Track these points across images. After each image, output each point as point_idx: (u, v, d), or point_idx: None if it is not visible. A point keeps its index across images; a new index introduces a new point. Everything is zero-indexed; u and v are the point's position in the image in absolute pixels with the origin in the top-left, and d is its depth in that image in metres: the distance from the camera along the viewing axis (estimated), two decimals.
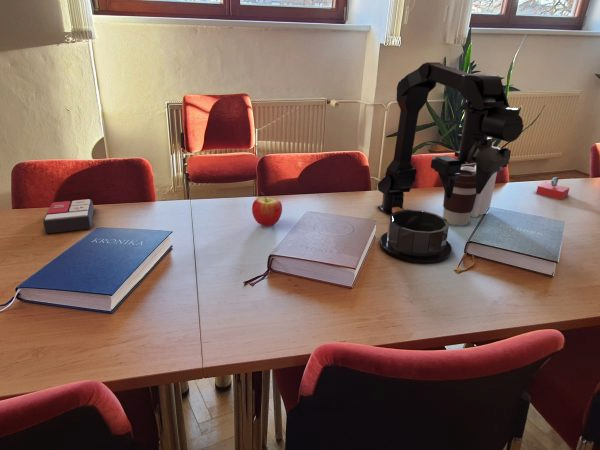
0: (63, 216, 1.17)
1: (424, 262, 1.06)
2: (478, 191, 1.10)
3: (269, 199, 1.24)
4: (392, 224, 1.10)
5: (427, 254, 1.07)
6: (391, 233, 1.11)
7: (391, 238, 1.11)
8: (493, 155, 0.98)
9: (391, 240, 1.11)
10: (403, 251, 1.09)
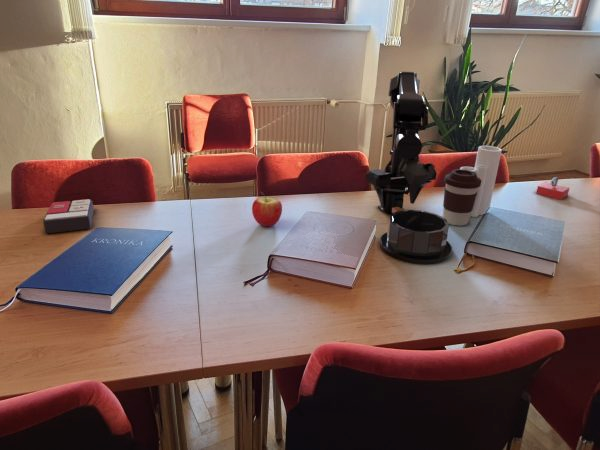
0: (63, 216, 1.17)
1: (424, 262, 1.06)
2: (411, 201, 1.20)
3: (269, 199, 1.24)
4: (392, 224, 1.10)
5: (427, 254, 1.07)
6: (391, 233, 1.11)
7: (391, 238, 1.11)
8: (418, 170, 1.09)
9: (391, 240, 1.11)
10: (403, 251, 1.09)
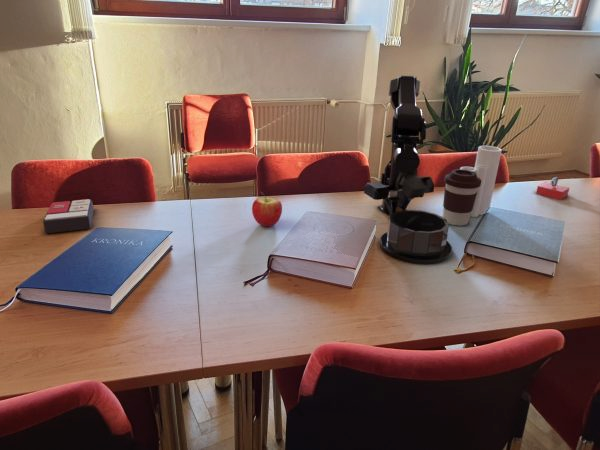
0: (63, 216, 1.17)
1: (424, 262, 1.06)
2: None
3: (269, 199, 1.24)
4: (392, 224, 1.10)
5: (427, 254, 1.07)
6: (391, 233, 1.11)
7: (391, 238, 1.11)
8: (416, 183, 1.10)
9: (391, 240, 1.11)
10: (403, 251, 1.09)
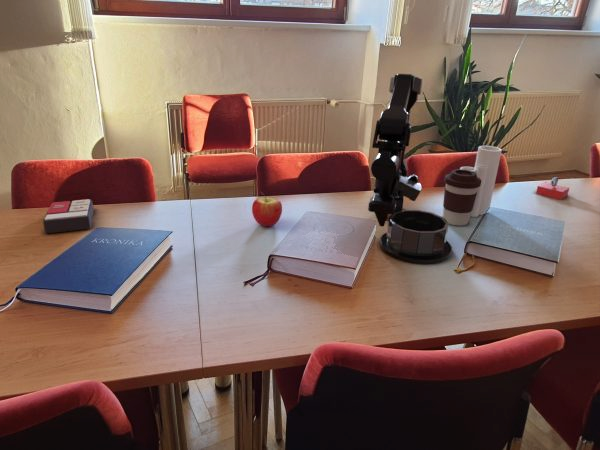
0: (63, 216, 1.17)
1: (424, 262, 1.06)
2: None
3: (269, 199, 1.24)
4: (407, 231, 1.06)
5: (442, 250, 1.10)
6: (407, 240, 1.07)
7: (407, 245, 1.08)
8: (414, 184, 1.09)
9: (407, 247, 1.08)
10: (423, 255, 1.07)
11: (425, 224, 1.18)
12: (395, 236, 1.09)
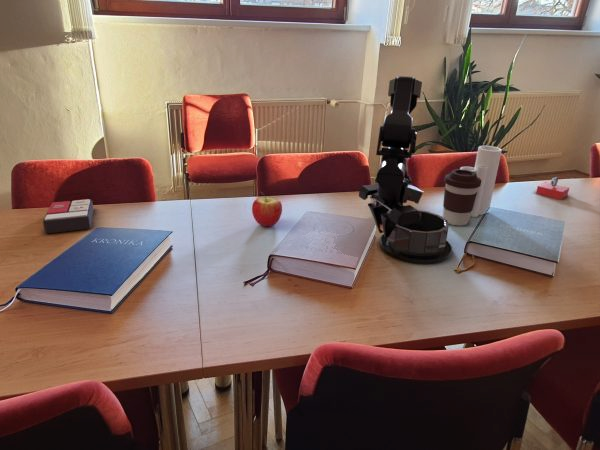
0: (63, 216, 1.17)
1: (424, 262, 1.06)
2: None
3: (269, 199, 1.24)
4: (430, 234, 1.05)
5: None
6: (430, 243, 1.06)
7: (430, 247, 1.07)
8: (413, 187, 1.07)
9: (430, 249, 1.07)
10: (441, 251, 1.09)
11: None
12: (415, 242, 1.06)
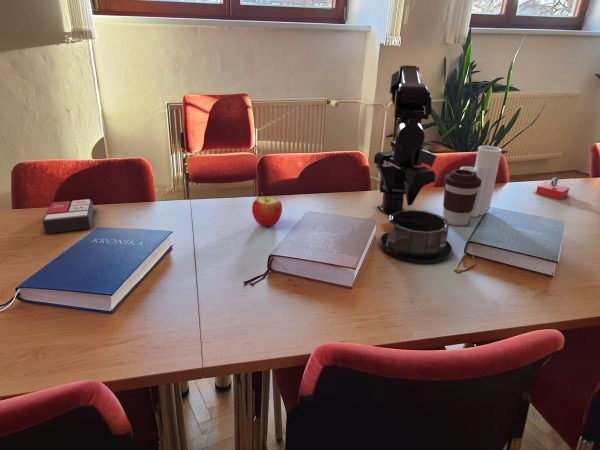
0: (63, 216, 1.17)
1: (424, 262, 1.06)
2: (390, 190, 1.18)
3: (269, 199, 1.24)
4: (431, 234, 1.05)
5: None
6: (431, 242, 1.06)
7: (430, 247, 1.07)
8: None
9: (431, 249, 1.07)
10: (441, 251, 1.10)
11: (406, 222, 1.19)
12: (416, 242, 1.06)
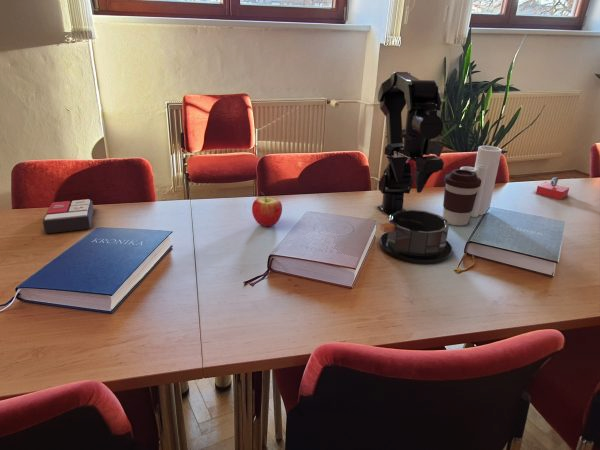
0: (63, 216, 1.17)
1: (424, 262, 1.06)
2: (400, 179, 1.25)
3: (269, 199, 1.24)
4: (431, 234, 1.05)
5: None
6: (431, 242, 1.06)
7: (430, 247, 1.07)
8: None
9: (431, 249, 1.07)
10: (441, 251, 1.10)
11: (406, 222, 1.19)
12: (416, 242, 1.06)
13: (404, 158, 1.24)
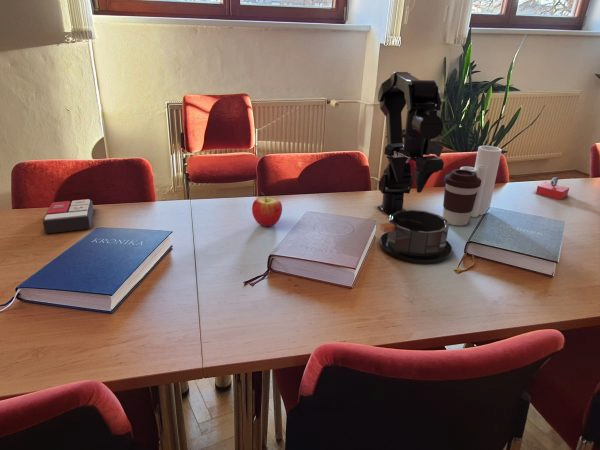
0: (63, 216, 1.17)
1: (424, 262, 1.06)
2: (400, 179, 1.25)
3: (269, 199, 1.24)
4: (431, 234, 1.05)
5: None
6: (431, 242, 1.06)
7: (430, 247, 1.07)
8: None
9: (431, 249, 1.07)
10: (441, 251, 1.10)
11: (406, 222, 1.19)
12: (416, 242, 1.06)
13: (404, 158, 1.24)
